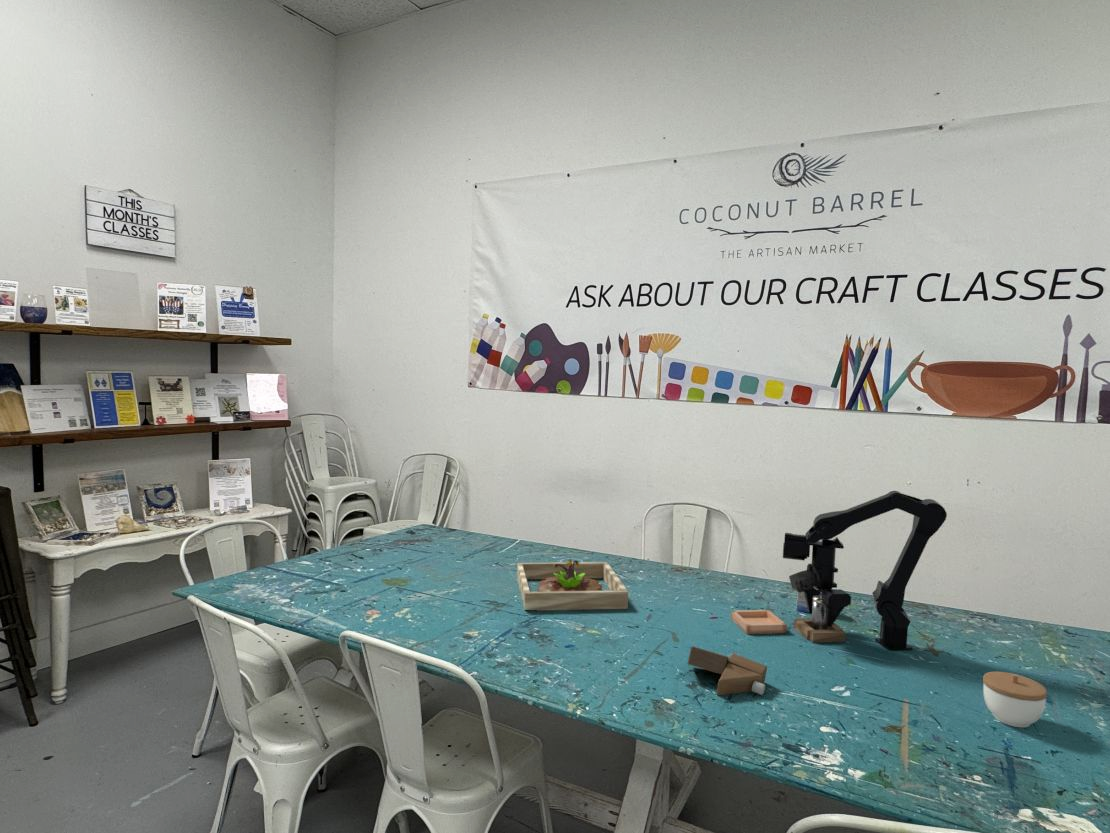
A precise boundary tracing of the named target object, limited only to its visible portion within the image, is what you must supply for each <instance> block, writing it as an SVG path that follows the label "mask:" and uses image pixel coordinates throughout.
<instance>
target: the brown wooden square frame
mask: <svg viewBox="0 0 1110 833" xmlns="http://www.w3.org/2000/svg"><path fill="white" fill-rule="evenodd" d="M811 622H812V617H810V618H806V617H805V618H794V619H793V628H794V629H795V632H797V633H800V634H799V635H800V636H802V637H803V638H804V637H805V638H804V639H806V640H808V641H810V642H811V643H813V642H814V643H838V642H839V643H842V642H846V631H845V630H844V628H842V627H841V626H840V625H838V624H837V623H835V622H834V623H833V625H832V626H831V627H828V626H827V630H814V629H813V628H811Z"/></svg>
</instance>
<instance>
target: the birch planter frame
mask: <svg viewBox="0 0 1110 833" xmlns="http://www.w3.org/2000/svg"><path fill="white" fill-rule="evenodd" d="M573 562H574V561H572V562H571V563H572V564H573ZM578 562H579V565H578V566H576V564H574V571H575V572H576V576H578V575H579V574H581V573H585V575H584V576H583V578H588V579H603V580H604V582H605V584H606V585H607V586H608V588H609V589H608V590H603V589H602V591H544V592H538V591H530V588H529V584H528V580H545V579H546V578H547V577H555V576H556V575H554V573H557V574H559V575H560V576H561V574H560V571H562V572H563V573H565V572H566V571H565V570H564V568H563V567H561V566H558V567H557V568H554V567H553V565H554V564H562V565H563V566H565V567H566V568H567V569H568V568H569V566H568V565H567V561H566V562H564V561H561V562H560V561H559V562H555V561H554V562H517V563H516V564H517V565H516V580H517V583H518V584H517V585H518V588H520V589H519V593H520V592H521V593H520V597H521V596H522V597H521V601H522V600H523V601H522V604H523V609H525V610H537V611H570V610H571V611H572V610H574V611H575V610H578V611H580V610H581V611H582V610H583V611H584V610H620V609H621V610H623V609H625V610H626V609H628V607H629V590H628V589H627V588H626V586H625V585H624V584H623V582H622V581H621V579H620V578H619V577H618V575H617V574H616V573H615V572H614V570H613V569H612V567H611V566H610V564H609V563H608V562H607V561H584V562H583V561H578ZM525 610H524V611H525Z"/></svg>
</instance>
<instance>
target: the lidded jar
mask: <svg viewBox="0 0 1110 833" xmlns="http://www.w3.org/2000/svg"><path fill="white" fill-rule="evenodd" d="M982 681H983V686H982V691H983V692H982V693H983V698H984V703H985V705H986V707H987V708H988V710H989V711H990V712H991V713H992V715H993V717H994V718H995V719H996V720H997V721H999V722H1001V723H1002V724H1004V725H1007V726H1010V727H1015V728H1029V727H1030V726H1031V725H1032V724H1034V723H1036V722H1038V720H1040V719H1041V717H1042V715H1043V712H1044V711H1045V706H1046V700H1047V695H1048V691H1047V689H1046V687H1045V686H1044V685H1042V684H1041V683H1040V682H1038V681H1035V680H1033V679H1032V678H1028V677H1026V676H1024V675H1020V674H1016V673H1011V672H1006V671H989V672H986V673H984V674H983V676H982Z"/></svg>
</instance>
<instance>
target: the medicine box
mask: <svg viewBox="0 0 1110 833" xmlns="http://www.w3.org/2000/svg"><path fill="white" fill-rule="evenodd" d="M796 592H797V594H796V604H795V605H796V607H795V609H796V611H797V612H802V613H806V612H807V613H808V614H810V613H809V611H808V607H807V603H806V599H805V595H804V592H798V591H797V590H796ZM819 596H822V592H820V595H819Z"/></svg>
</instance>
